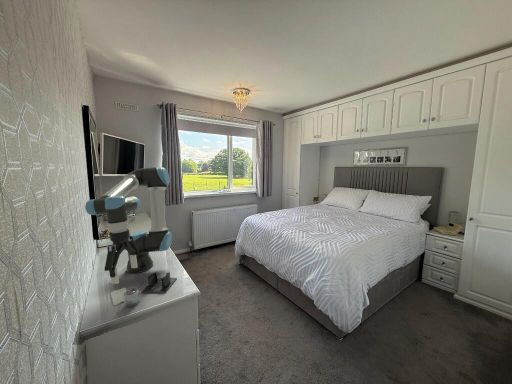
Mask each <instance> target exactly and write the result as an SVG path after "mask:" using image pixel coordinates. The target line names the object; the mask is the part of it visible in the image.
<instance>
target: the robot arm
mask: <svg viewBox="0 0 512 384" xmlns="http://www.w3.org/2000/svg"><path fill="white" fill-rule="evenodd" d="M170 182H171V179H170V174H169V172H168V170H167V169H166V168H165V167H161V166H160V167H159V166H158V167H147V168H146V167H145V168H141V167H140V168H138V169H135V170H133V171H131V172H128V173H127V174H126V175H124V176H123V177H122V180H121V181H119V182H118V183H117V184H115V185H114V186H113V187H111V188H110V189H109V190H108V191H106V192H105V193H104V194H102V195H101V196H100V197H98V198H96V199H94V198H93V199H89V200H87V201H86V202H85V206H84V207H85V211H86V213H87V214H88V215H90V216H100V215H102V216H103V215H106V218H107V225H108V231H109V239H110V241H111V242H112V245H108V246H107V254H106V259H105V264H104V271H105V272H109V277H110V279H111V280H110V281H111V284H116V285H117V284H119V283H120V280H119V273H118V268H117V264H118V261H119V258H120V255H121V254H122V252H123V251H125V250H126V251H127V256H128V260H127V264H126V272H127V273H129V274H138V273H143V272H145V271H148V270H149V269H151V268H153V266H154V261H153V259H152V257H151V255H150V253H153V252H154V253H155V252H164V251H165V252H166V251H168V250H169V249H170V248H171V246H172V242H173V235H172V232H171V231H169V228H168V227H167V223H166V222H167V221H166V199H165V198H166V197H165V196H166V195H165V194H166V193H165V191H166V189H168V186H169V184H170ZM139 187H147V189H148V190H149V198H150V199H149V201H150V227H151V228H150V229H149V230H148V233H147V230H139V231H136V232H133V233H131V234H130V229H129V228H130V226H129V219H128V214H131V213H133V212H135V211H137V210H138V209H139V208H140V206H141V201H140V199H139V198H138V197H136V196H127V195H128V194H129V193H131V192H132V190H136V189H137V188H139Z"/></svg>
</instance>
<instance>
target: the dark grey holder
mask: <svg viewBox="0 0 512 384" xmlns="http://www.w3.org/2000/svg"><path fill="white" fill-rule="evenodd" d="M165 274H166V275H165V276H163V277H158V274H157V272H153V273H151V274H150V275H148V277H147V285H146V286H145V287H144V288H143V289H142V290H141V294H165V293H167V292H168V291H169V289H171V287H172V286H173V284H174V283H176V281H177V279H178V278H177V277H171V273H170V272H166V273H165Z"/></svg>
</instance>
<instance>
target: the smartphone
mask: <svg viewBox="0 0 512 384" xmlns="http://www.w3.org/2000/svg"><path fill="white" fill-rule="evenodd" d="M126 291H128V289H127V287H121V288H118V289H116V290H113V291H111V292H110V293H109V295H110V300H111V304H112V307H116V306H119V305H121V304H123V303H124V304H125V299H124V293H125V292H126Z"/></svg>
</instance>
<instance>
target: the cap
mask: <svg viewBox="0 0 512 384" xmlns="http://www.w3.org/2000/svg"><path fill="white" fill-rule="evenodd" d="M139 292H140V291H139V289H138V288H131V289H127V291H126V292H125V293H124V299H125V302H124V305H125V308H126V309H133V308H135V307H137V306H138V305H139V304H140V303H141V299H140V298H141V297H140V293H139Z"/></svg>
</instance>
